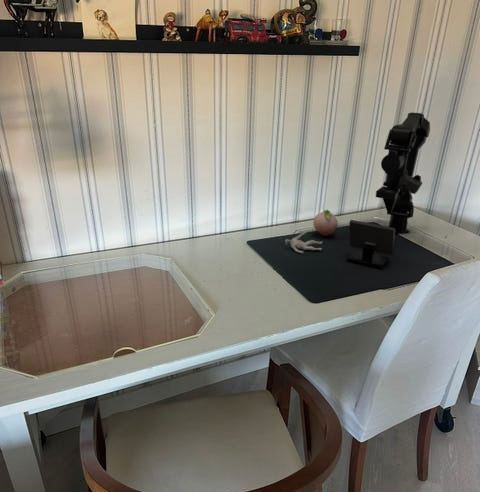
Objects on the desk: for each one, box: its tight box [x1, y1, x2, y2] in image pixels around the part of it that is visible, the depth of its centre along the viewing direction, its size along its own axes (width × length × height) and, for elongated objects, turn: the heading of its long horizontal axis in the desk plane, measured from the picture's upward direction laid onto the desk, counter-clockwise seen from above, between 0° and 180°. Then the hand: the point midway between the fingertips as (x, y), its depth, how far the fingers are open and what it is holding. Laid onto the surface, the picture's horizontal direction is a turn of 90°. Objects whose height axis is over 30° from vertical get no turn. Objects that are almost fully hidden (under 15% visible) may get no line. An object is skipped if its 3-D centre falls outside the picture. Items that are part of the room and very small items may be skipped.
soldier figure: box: [284, 231, 323, 254], centre depth 165 cm, size 8×5×12 cm
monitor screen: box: [349, 219, 396, 256], centre depth 154 cm, size 2×14×10 cm, turn 60°
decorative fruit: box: [313, 209, 339, 237], centre depth 176 cm, size 9×8×10 cm
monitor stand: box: [346, 245, 390, 270], centre depth 157 cm, size 8×11×5 cm
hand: (389, 213), depth 165 cm, fingers closed
